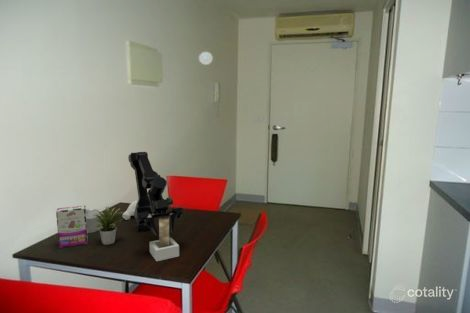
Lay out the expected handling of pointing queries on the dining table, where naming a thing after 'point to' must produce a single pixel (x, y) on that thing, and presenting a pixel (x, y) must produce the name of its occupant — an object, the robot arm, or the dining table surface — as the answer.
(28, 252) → the dining table surface
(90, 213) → the lumpy-topped squat cylinder
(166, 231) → the dowel
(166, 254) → the end cap
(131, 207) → the penguin figurine
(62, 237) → the candy bar box
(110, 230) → the house plant
